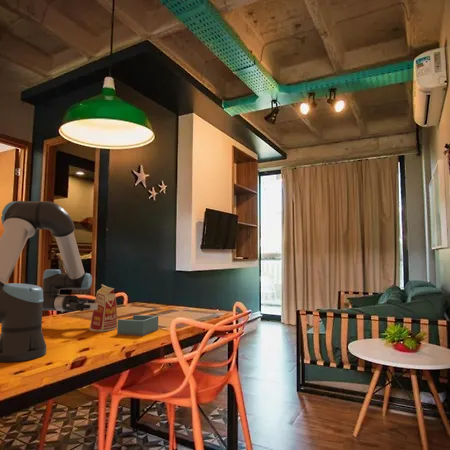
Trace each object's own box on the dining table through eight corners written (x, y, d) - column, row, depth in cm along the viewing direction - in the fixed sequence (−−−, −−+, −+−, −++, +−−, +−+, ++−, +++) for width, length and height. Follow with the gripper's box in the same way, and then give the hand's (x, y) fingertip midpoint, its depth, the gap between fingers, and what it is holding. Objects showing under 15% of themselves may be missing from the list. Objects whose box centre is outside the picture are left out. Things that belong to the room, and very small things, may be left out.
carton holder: (158, 329, 158) (158, 316, 158) (143, 336, 145) (143, 321, 146) (134, 328, 161) (134, 314, 162) (117, 334, 148) (117, 319, 149)
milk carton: (89, 330, 156) (90, 285, 158) (105, 326, 164) (106, 283, 166) (104, 332, 152) (105, 285, 154) (119, 328, 160) (120, 284, 162)
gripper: (84, 307, 177) (121, 309, 171) (46, 315, 153) (88, 317, 147) (85, 292, 178) (122, 293, 172) (47, 297, 154) (89, 299, 148)
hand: (106, 304), depth 160 cm, fingers open, 13 cm apart
